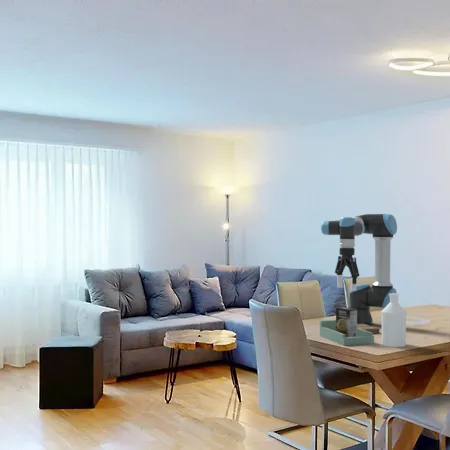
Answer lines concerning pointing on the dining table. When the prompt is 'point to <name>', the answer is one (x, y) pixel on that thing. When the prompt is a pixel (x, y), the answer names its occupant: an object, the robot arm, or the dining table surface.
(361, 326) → the board
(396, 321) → the bottle
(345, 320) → the coffee box
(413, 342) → the dining table surface
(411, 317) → the dining table surface
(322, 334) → the frame
